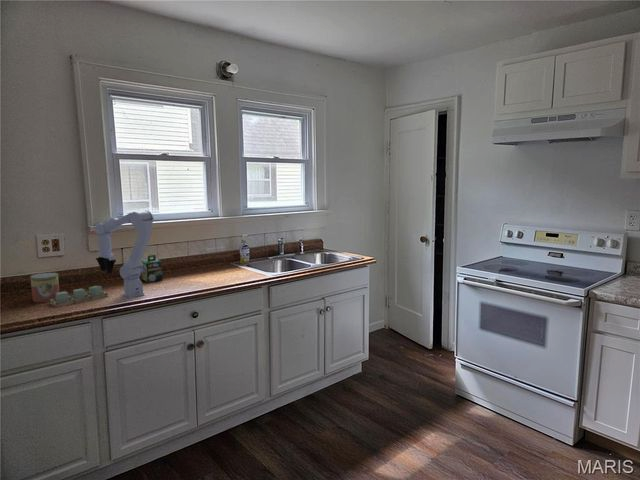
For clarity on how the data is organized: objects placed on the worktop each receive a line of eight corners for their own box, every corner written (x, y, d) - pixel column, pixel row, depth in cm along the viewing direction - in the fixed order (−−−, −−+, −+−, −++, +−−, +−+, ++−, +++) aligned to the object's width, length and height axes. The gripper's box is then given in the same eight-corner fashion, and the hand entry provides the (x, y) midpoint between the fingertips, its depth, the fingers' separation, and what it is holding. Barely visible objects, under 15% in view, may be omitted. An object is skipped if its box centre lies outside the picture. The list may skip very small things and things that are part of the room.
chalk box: (157, 277, 248) (156, 253, 246) (163, 280, 242) (162, 255, 239) (141, 279, 242) (140, 254, 240) (147, 282, 235) (145, 257, 233)
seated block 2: (85, 299, 200) (85, 289, 199) (76, 301, 197) (75, 291, 196) (82, 298, 203) (81, 288, 202) (73, 299, 200) (72, 289, 199)
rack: (107, 297, 206) (107, 293, 205) (56, 307, 189) (55, 302, 188) (100, 294, 211) (100, 290, 211) (50, 303, 194) (49, 299, 194)
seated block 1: (69, 303, 195) (68, 292, 194) (59, 305, 192) (58, 294, 191) (66, 301, 197) (65, 291, 196) (56, 303, 194) (55, 293, 193)
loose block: (102, 295, 207) (101, 286, 206) (96, 298, 203) (96, 288, 202) (94, 295, 208) (94, 285, 207) (89, 297, 204) (88, 287, 203)
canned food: (32, 304, 194) (30, 279, 192) (32, 298, 203) (29, 274, 201) (61, 300, 200) (59, 276, 198) (59, 294, 209) (57, 271, 207)
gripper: (119, 246, 211) (120, 272, 213) (107, 243, 220) (108, 268, 222) (104, 248, 206) (106, 275, 208) (92, 245, 215) (94, 270, 217)
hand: (106, 271), depth 215 cm, fingers open, 7 cm apart
